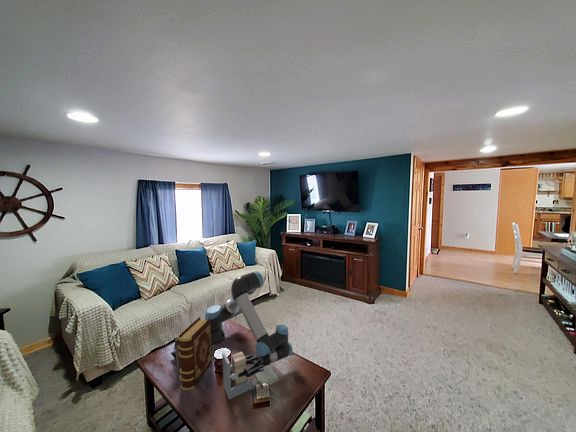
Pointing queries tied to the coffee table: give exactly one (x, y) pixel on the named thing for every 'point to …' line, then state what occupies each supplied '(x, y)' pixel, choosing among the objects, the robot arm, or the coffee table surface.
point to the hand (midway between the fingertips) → (229, 373)
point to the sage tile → (266, 376)
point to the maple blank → (238, 367)
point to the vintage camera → (176, 352)
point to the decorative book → (195, 352)
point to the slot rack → (228, 381)
